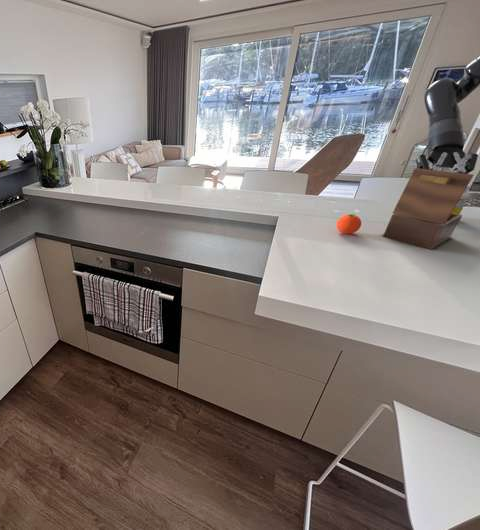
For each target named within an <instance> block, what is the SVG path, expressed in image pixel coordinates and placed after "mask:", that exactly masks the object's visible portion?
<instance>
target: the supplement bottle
mask: <svg viewBox="0 0 480 530" xmlns="http://www.w3.org/2000/svg"><path fill="white" fill-rule="evenodd" d="M470 188H471V184H470V183H469V184H468V186H467V187H466V189H465V191H464V193H463V194H462V196H461V198H460V199H459V201H458V203H457V205H456V206H455V208H454V210H453V211H452V213H453V214H458V215H461V212H462V211H463V209H464V207H465V205H466V203H467V201H468V200H469V198H470V195H471V194H470V192H468V190H469V189H470Z"/></svg>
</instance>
